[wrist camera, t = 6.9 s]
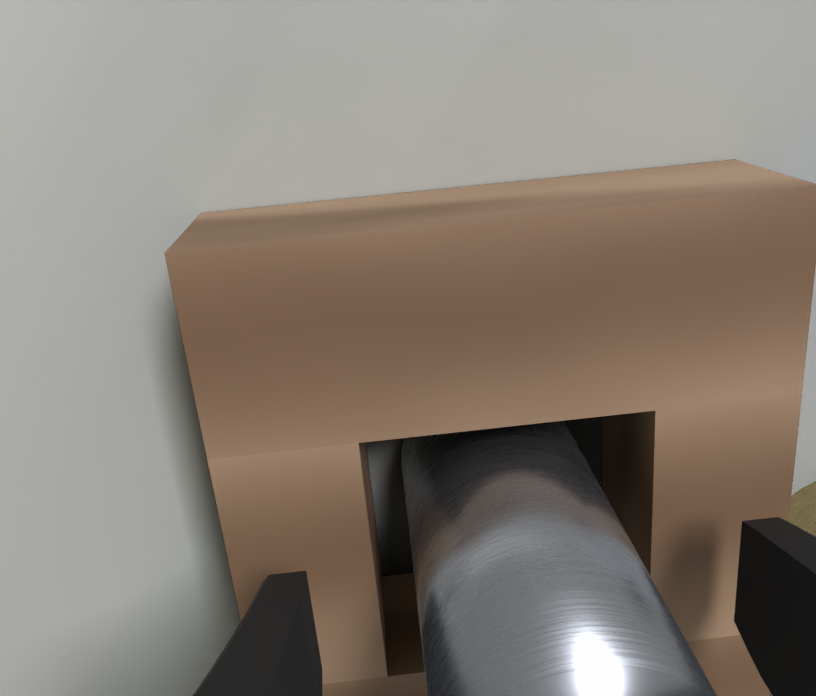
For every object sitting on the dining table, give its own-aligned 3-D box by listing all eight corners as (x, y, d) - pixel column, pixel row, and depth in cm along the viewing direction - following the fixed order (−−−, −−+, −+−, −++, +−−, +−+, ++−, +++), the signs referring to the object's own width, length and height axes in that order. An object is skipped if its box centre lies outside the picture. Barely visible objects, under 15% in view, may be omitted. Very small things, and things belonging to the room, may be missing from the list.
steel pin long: (563, 523, 17) (719, 881, 10) (402, 530, 17) (438, 901, 10) (574, 374, 16) (763, 658, 9) (399, 380, 16) (439, 676, 8)
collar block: (702, 658, 19) (762, 764, 16) (293, 707, 19) (282, 823, 16) (734, 159, 15) (824, 186, 12) (201, 212, 14) (164, 253, 12)
